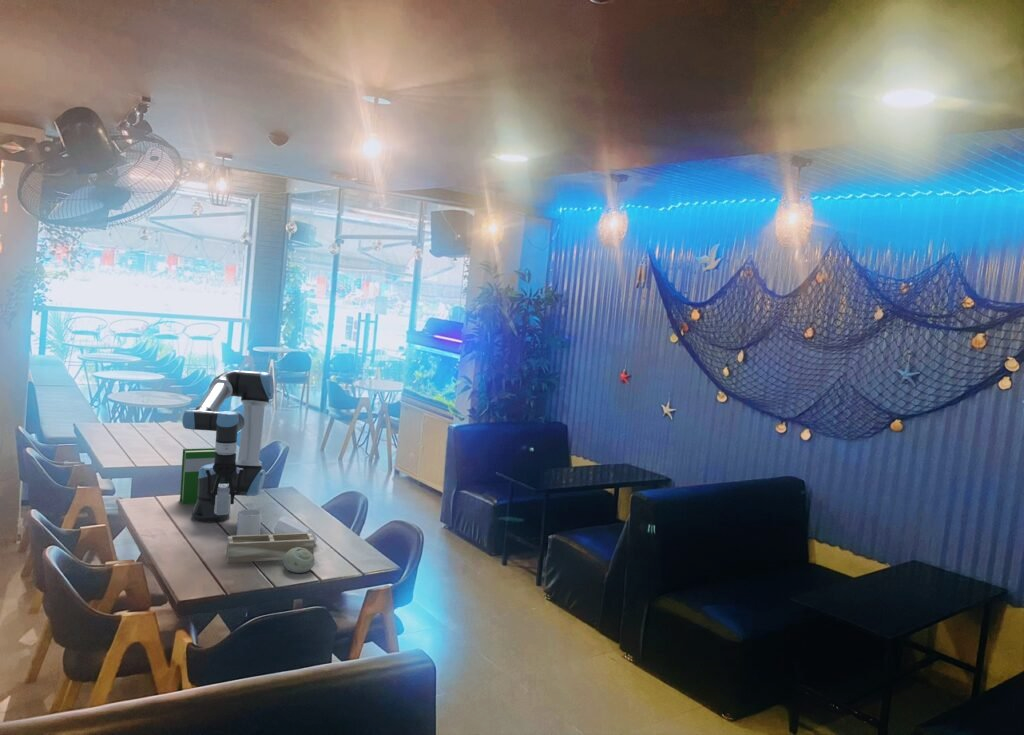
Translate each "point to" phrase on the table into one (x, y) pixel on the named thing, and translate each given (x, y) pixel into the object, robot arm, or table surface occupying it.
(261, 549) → the well block
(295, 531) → the crystal
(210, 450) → the hardback book
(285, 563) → the seashell
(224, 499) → the pale blue pillar block
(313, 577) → the table surface
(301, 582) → the table surface
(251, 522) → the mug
